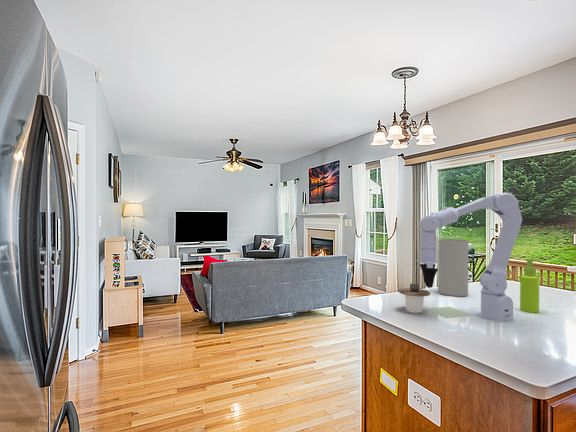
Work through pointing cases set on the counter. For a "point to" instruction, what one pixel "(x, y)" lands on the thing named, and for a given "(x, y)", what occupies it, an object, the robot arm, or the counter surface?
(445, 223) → the robot arm
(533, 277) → the soap dispenser
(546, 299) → the counter surface
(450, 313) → the sage mat
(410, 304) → the white cup
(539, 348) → the counter surface
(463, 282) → the cylinder vase
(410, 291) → the walnut lid
